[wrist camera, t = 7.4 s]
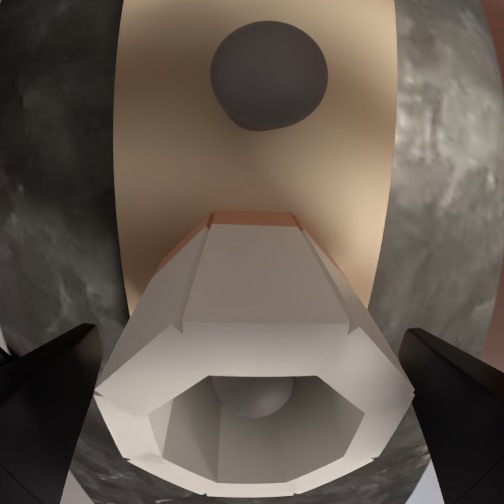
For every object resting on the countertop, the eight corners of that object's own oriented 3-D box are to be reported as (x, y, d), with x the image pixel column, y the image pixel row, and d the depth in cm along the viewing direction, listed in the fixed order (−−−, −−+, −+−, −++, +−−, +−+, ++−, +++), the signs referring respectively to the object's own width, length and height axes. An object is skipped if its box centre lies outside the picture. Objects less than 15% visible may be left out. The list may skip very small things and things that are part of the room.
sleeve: (319, 359, 12) (356, 486, 6) (171, 357, 12) (140, 487, 6) (345, 215, 10) (450, 316, 4) (158, 209, 9) (64, 310, 4)
